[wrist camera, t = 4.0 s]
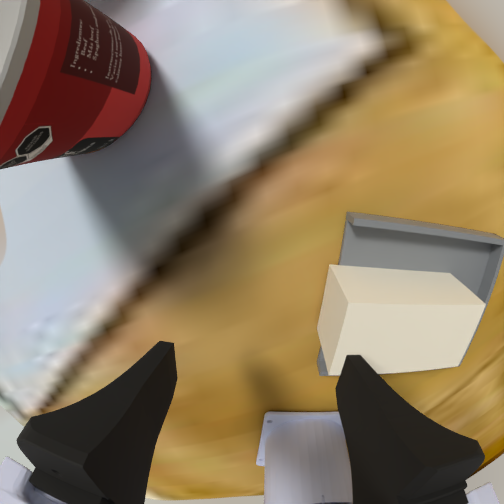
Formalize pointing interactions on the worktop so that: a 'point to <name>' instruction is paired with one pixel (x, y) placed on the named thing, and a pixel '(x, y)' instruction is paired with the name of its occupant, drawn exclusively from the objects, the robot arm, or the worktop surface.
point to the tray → (421, 253)
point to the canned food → (65, 80)
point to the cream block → (396, 319)
